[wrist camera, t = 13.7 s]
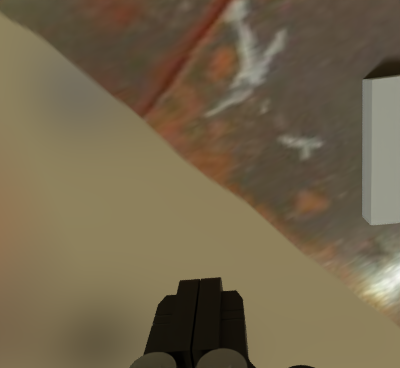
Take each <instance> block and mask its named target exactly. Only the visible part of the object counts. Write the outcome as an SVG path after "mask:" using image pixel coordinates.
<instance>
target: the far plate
mask: <svg viewBox="0 0 400 368" xmlns="http://www.w3.org/2000/svg"><path fill="white" fill-rule="evenodd" d="M362 216H363V217H364V218H365V220H366V221H367V222H368V223H369V224H370V225H380V224H392V223H400V75H392V76H384V77H377V78H369V79H363V163H362Z"/></svg>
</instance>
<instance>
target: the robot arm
mask: <svg viewBox="0 0 400 368" xmlns="http://www.w3.org/2000/svg"><path fill="white" fill-rule="evenodd" d="M130 368H256V367H255V366H253V364H252V363H251V362H250V360H249V358H248V346H247V334H246V325H245V315H244V306H243V299H242V297H241V296H240V295H239V293H238V292H237V291H236V290H235V291H223V288H222V281H221V278H220V277H218V278H205V279H201V281H200V279H194V280H180V282H179V286H178V290H177V295H167V296H166V297H165V298H164V299H163V300H162V301H161V302H160V303H159V304H158V307H157V311H156V314H155V317H154V321H153V326H152V327H151V331H150V334H149V338H148V341H147V344H146V348H145V352H144V355H143V356H141V357H140V358H138V359H137V360H136V361H134V363H133V364H132V365H131V366H130ZM289 368H314V367H310V366H306V365H297V366H292V367H289Z"/></svg>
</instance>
